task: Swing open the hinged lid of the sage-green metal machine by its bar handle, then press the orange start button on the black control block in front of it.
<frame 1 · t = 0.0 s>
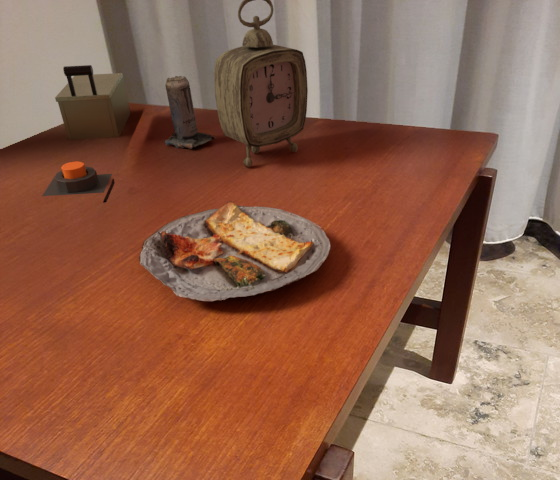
food plate: (235, 260, 75), on the table
start button: (74, 170, 90), point 4 cm above the table, slide at 0.1 cm
beverage can: (190, 144, 110), on the table
machine: (103, 134, 116), on the table
tabletop clock: (262, 157, 103), on the table
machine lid: (88, 73, 108), point 12 cm above the table, hinge at 0.0°
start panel: (80, 194, 93), on the table
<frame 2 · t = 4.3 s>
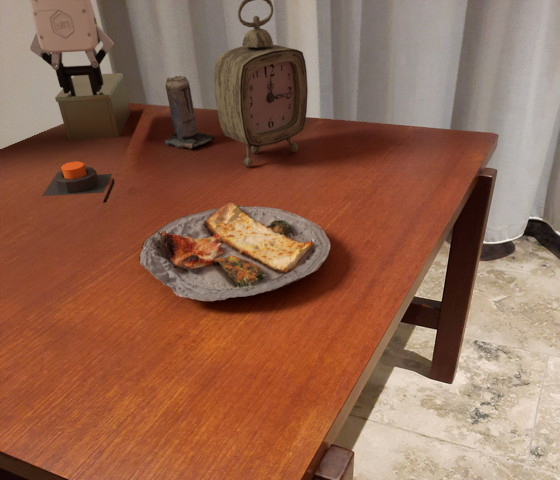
hand: (83, 89, 104), 10 cm above the table, tool pointing down, fingers closed on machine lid, 5 cm apart
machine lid: (88, 73, 108), point 12 cm above the table, hinge at 0.0°, touching gripper
everything else where it was.
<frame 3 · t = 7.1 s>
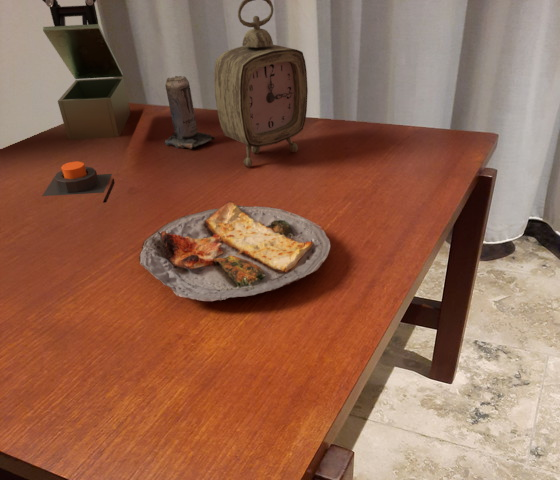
hand: (77, 29, 103), 19 cm above the table, tool pointing down, fingers closed on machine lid, 5 cm apart
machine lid: (85, 41, 108), point 16 cm above the table, hinge at 40.8°, touching gripper
everything else where it was.
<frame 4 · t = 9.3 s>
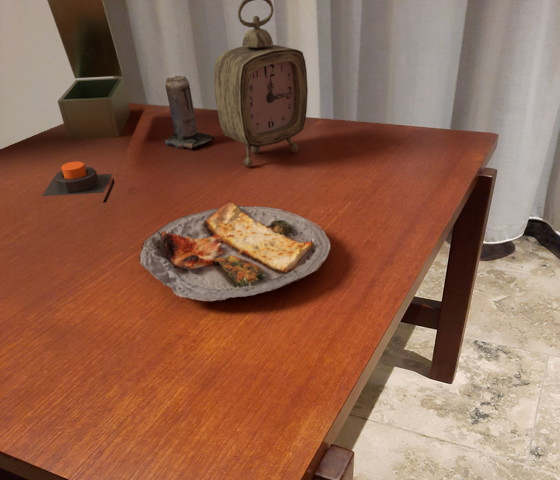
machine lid: (87, 29, 110), point 18 cm above the table, hinge at 70.7°, touching gripper
everything else where it was.
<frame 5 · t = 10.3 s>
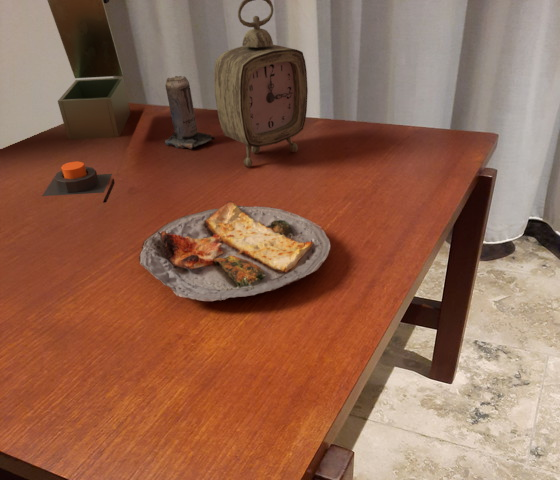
hand: (81, 3, 107), 22 cm above the table, tool pointing down, fingers open, 9 cm apart
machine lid: (87, 29, 110), point 18 cm above the table, hinge at 70.8°
everything else where it was.
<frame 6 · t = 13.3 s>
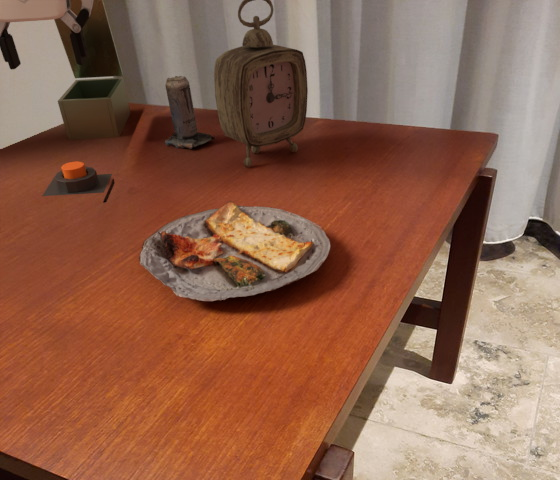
hand: (48, 65, 81), 19 cm above the table, tool pointing down, fingers open, 9 cm apart
nothing on the table moved.
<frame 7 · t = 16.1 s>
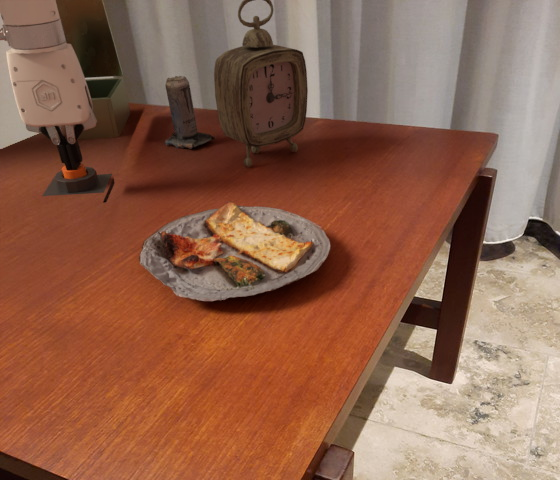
hand: (74, 166, 90), 5 cm above the table, tool pointing down, fingers closed
start button: (74, 172, 90), point 4 cm above the table, slide at -0.1 cm, touching gripper
everything else where it was.
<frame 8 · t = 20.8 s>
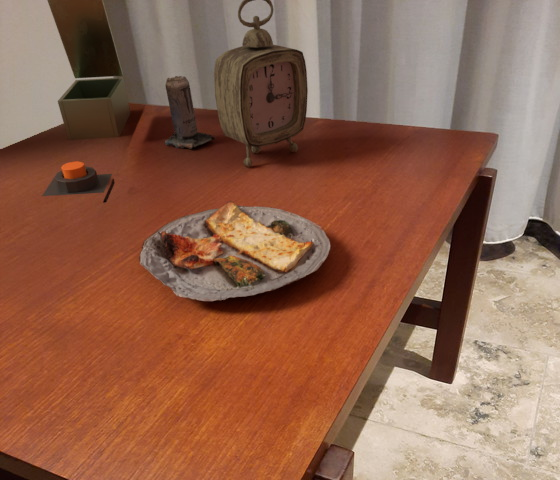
start button: (74, 170, 90), point 4 cm above the table, slide at 0.1 cm
everything else where it was.
at the end: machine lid at +71° (first picture: +0°); start button pushed in 1.1 cm at the most during the clip, back to where it started at the end; start button slide at 0.1 cm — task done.
